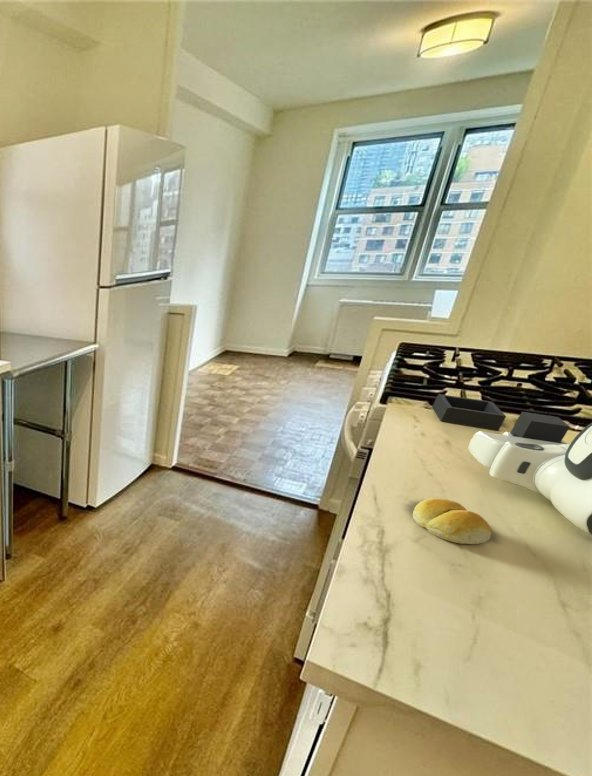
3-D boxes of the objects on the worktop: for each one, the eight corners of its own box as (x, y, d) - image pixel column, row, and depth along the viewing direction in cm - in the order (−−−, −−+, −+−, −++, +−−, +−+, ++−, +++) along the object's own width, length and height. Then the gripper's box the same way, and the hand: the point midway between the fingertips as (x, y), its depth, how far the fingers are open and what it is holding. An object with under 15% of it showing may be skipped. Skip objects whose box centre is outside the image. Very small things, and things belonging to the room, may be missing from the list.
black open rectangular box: (485, 415, 114) (492, 401, 112) (498, 430, 106) (506, 416, 105) (431, 407, 118) (438, 393, 117) (440, 421, 111) (447, 407, 109)
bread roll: (444, 510, 79) (456, 490, 77) (497, 545, 71) (511, 523, 69) (395, 511, 78) (405, 490, 76) (443, 546, 70) (455, 524, 69)
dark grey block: (530, 464, 93) (558, 417, 88) (539, 476, 89) (570, 426, 84) (495, 458, 95) (521, 411, 90) (503, 469, 91) (531, 420, 86)
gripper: (672, 469, 73) (617, 434, 84) (497, 442, 81) (468, 414, 92) (646, 504, 76) (597, 466, 87) (479, 475, 84) (453, 443, 95)
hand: (529, 439), depth 90 cm, fingers closed on dark grey block, 5 cm apart
